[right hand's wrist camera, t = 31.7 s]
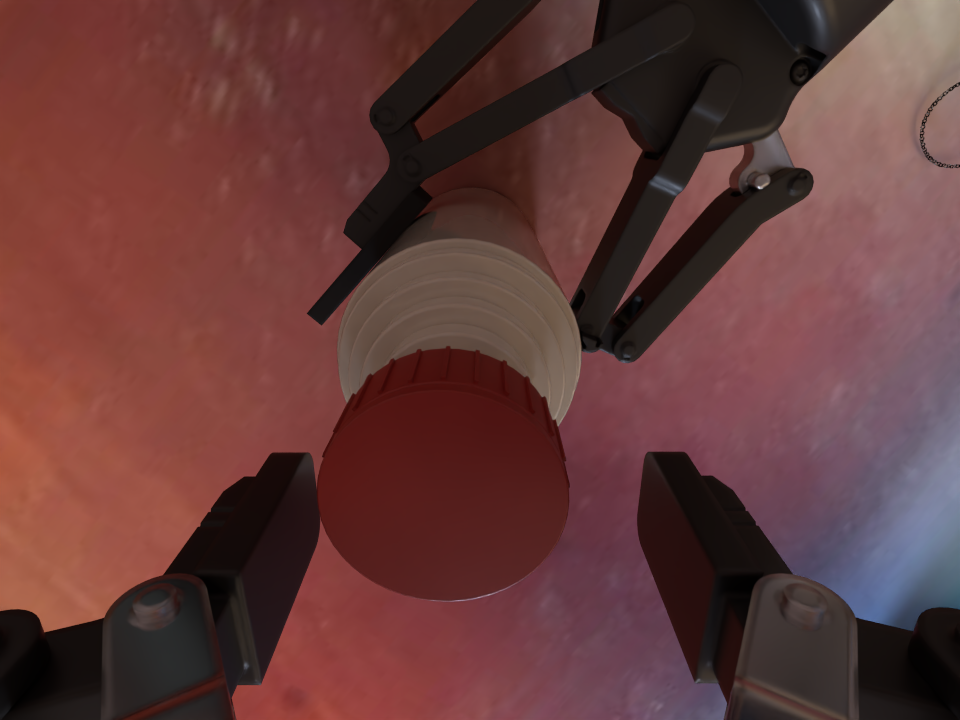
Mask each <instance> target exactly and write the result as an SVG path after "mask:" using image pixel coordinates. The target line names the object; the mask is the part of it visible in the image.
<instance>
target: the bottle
mask: <svg viewBox="0 0 960 720" xmlns="http://www.w3.org/2000/svg"><path fill="white" fill-rule="evenodd" d="M446 346H451V349H463V350H469V351H475V350H480V353H481V354H485V355H488V356H490V357H493V358H495V359H497V360H500V361H503V360H505V361H507V365H509V366H510V367H512V368H514V369H515V370H516V371H518V372H519V373H520V374H521V375H523V376H524V377H526V376H528V377H529V378H530V383H531V384H532V385H533V386H534V387H535V388H536V390H537V391H538V392H539V394H540V395H541V396H542V397H544V396H545V397H546V399H547V403H548V407H549V411H550V414H551V416H552V419H553V420H554V419H556V421H557V425H558V426H559V425H560V423H561V421H562V420H563V418H564V416H565V415H566V413H567V411H568V409H569V406H570V404H571V402H572V399H573V396H574V392H575V390H576V387H577V383H578V380H579V376H580V369H581V362H582V345H581V339H580V332H579V328H578V325H577V321H576V318H575V315H574V313H573V311H572V309H571V306H570V304H569V302H568V300H567V298H566V296H565V294H564V292H563V290H562V288H561V286H560V284H559V282H558V280H557V278H556V276H555V274H554V272H553V270H552V268H551V266H550V264H549V262H548V259H547V257H546V255H545V253H544V251H543V249H542V247H541V245H540V243H539V241H538V239H537V237H536V235H535V233H534V231H533V229H532V227H531V225H530V223H529V221H528V220H527V218H526V216H525V215H524V214H523V212H522V211H521V210H520V209H519V208H518V207H517V206H516V205H515V204H514V203H513V202H512V201H510V200H509V199H507V198H506V197H505V196H503V195H501V194H499V193H497V192H494V191H491V190H488V189H483V188H474V187H468V188H459V189H454V190H451V191H448V192H446V193H443V194H441V195H440V196H438V197H436V198H435V199H433V200H432V201H430V202H429V203H428V205H427V206H426V207H425V208H424V209H423V211H422V212H421V213H420V214H419V215H418V216H417V217H416V219H415V220H414V221H413V222H412V223H411V224H410V225H409V227H408V228H407V229H406V230H405V231H404V232H403V233H402V234H401V235H400V237H399V238H398V239H397V240H396V241H395V243H394V244H393V245H392V246H391V247H390V249H389V250H388V251H387V252H386V253H385V255H384V256H383V257H382V258H381V259H380V261H379V262H378V263H377V264H376V265H375V267H374V268H373V269H372V270H371V271H370V273H369V274H368V275H367V276H366V277H365V279H364V280H363V281H362V282H361V284H360V285H359V286H358V287H357V289H356V290H355V292H354V294H353V295H352V297H351V299H350V300H349V302H348V304H347V307H346V309H345V311H344V314H343V316H342V320H341V324H340V328H339V332H338V341H337V362H338V371H339V378H340V383H341V388H342V391H343V394H344V397H345V400H346V402H347V403H348V401H349V399H350V397H351V395H352V394H353V393H354V394H356V393H357V391H358V390H359V389H360V388H361V387H362V385H363V384H364V382H365V380H366V378H367V376H368V375H369V374H370V373H371V374H372V375H373V374H374V373H375V372H377V371H378V370H380V369H381V368H383V367H384V366H385V365H387V364H389V361H390V360H391V359H392V358H394V359H395V360H397V359H399V358H401V357H403V356H406V355H409V354H412V353H415V352H416V351H417V349H421V350H422V351H425V350H430V349H442V348H446Z"/></svg>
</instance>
